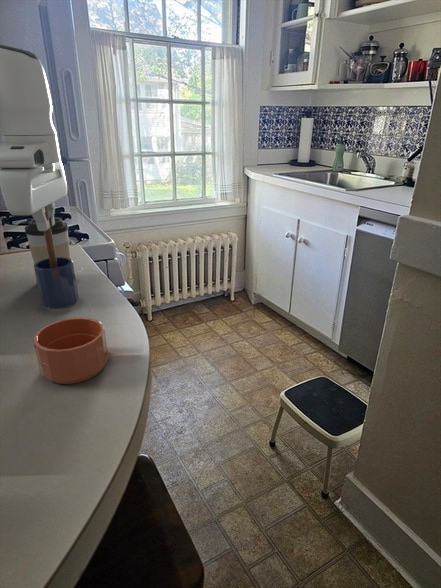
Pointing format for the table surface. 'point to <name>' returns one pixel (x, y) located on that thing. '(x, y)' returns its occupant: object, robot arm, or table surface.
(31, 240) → the coffee cup
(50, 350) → the bowl
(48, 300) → the crock
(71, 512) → the table surface
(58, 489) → the table surface
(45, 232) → the wooden stirring stick
